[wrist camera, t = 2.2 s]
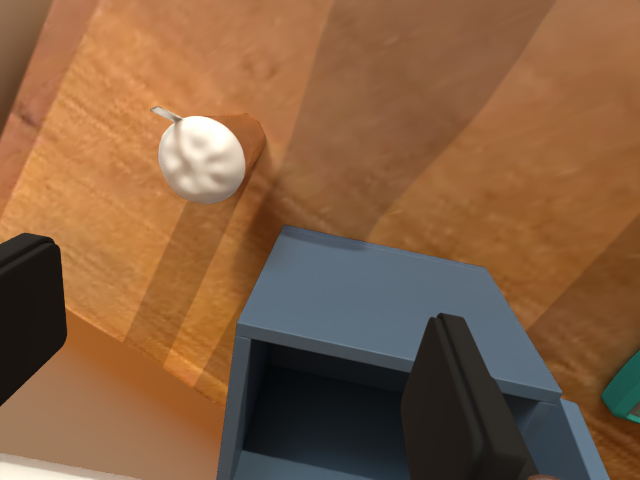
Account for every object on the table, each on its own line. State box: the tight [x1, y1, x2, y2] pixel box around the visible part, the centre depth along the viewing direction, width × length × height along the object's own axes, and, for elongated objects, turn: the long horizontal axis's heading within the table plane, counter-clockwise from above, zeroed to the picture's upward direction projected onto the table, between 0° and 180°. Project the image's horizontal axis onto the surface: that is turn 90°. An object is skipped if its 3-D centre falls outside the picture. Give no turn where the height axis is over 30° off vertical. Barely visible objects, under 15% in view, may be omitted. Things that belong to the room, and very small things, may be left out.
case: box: [216, 225, 563, 480], centre depth 28 cm, size 16×14×13 cm
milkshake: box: [150, 106, 265, 204], centre depth 24 cm, size 4×5×10 cm
